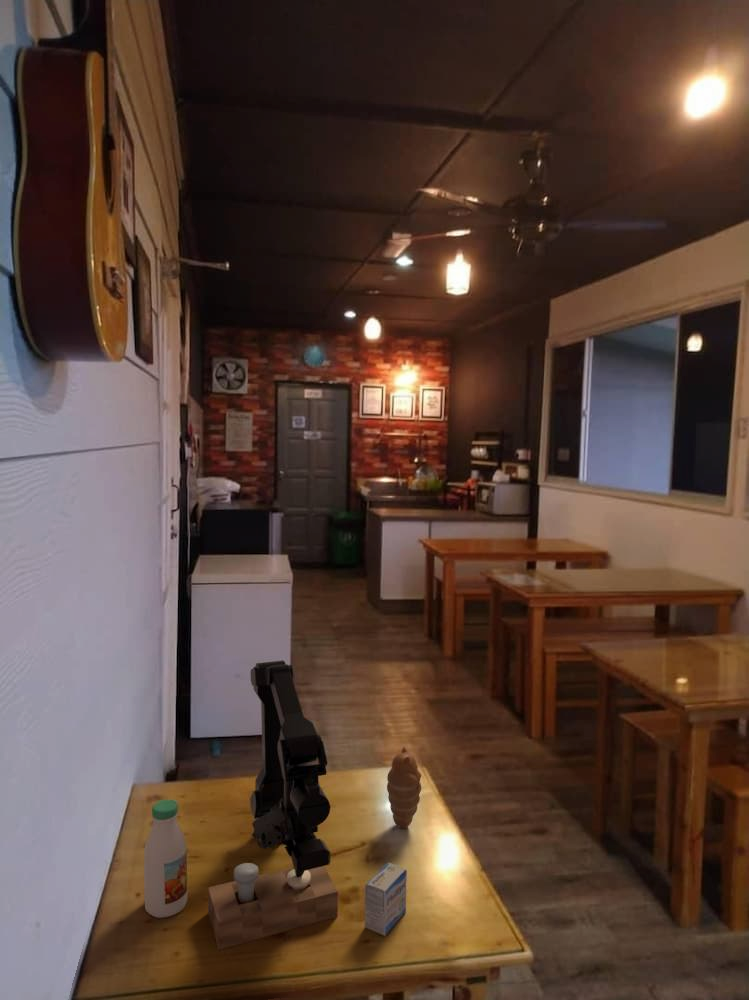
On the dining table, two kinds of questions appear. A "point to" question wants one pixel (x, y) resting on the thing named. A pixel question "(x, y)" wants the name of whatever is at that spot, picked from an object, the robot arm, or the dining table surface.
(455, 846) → the dining table surface
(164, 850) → the milk bottle
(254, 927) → the walnut block
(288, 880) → the cream peg
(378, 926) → the medicine box
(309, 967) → the dining table surface
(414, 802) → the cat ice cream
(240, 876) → the grey peg
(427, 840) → the dining table surface
